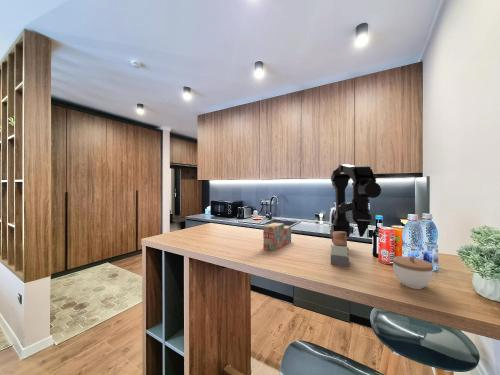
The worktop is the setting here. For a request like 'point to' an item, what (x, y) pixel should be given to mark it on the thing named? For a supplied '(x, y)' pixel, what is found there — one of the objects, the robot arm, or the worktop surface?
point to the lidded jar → (412, 271)
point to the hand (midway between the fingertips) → (360, 234)
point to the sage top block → (339, 250)
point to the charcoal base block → (340, 260)
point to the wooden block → (339, 238)
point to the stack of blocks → (276, 236)
